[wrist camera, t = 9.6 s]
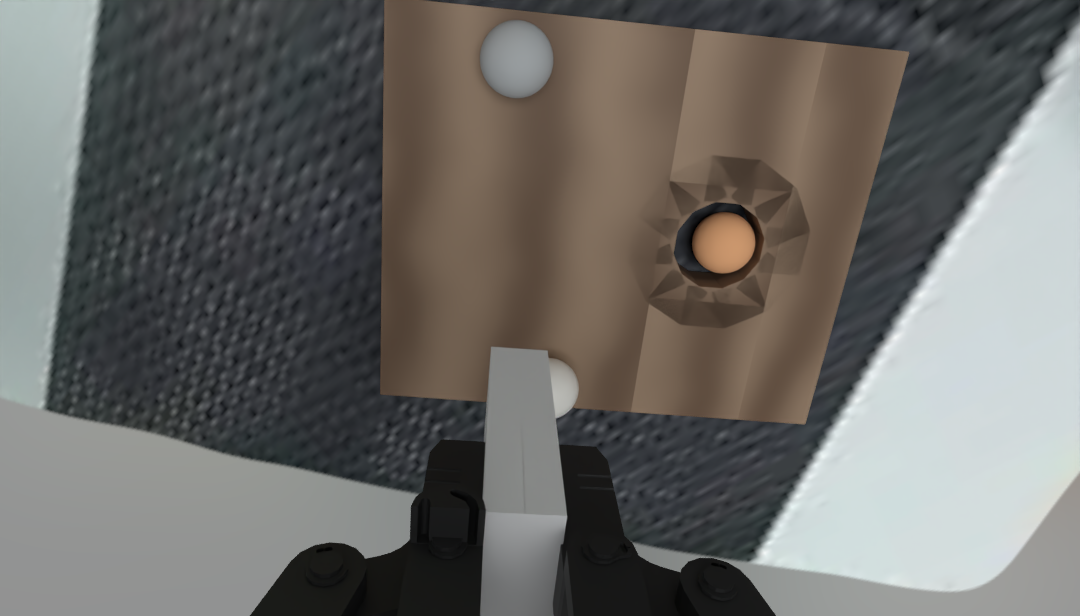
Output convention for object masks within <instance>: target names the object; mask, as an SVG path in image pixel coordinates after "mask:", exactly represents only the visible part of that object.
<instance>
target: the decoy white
mask: <svg viewBox="0 0 1080 616" xmlns="http://www.w3.org/2000/svg"><path fill="white" fill-rule="evenodd" d="M549 366H550V375H551V383H552V392H553V400H554V409H555V417H556V418H558V417H561V416H563V415H564V414H566V413H567V412H568V411H570V409H571V408H572V407H573V406H574V404H575V402H576V400H577V397H578V393H579V385H578V380H577V377H576V375H575V373H574V371H573V370H572V369H571V367H569V366H568V365H567V364H566V363H564V362H563V361H561V360H558V359H555V358H549Z"/></svg>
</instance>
